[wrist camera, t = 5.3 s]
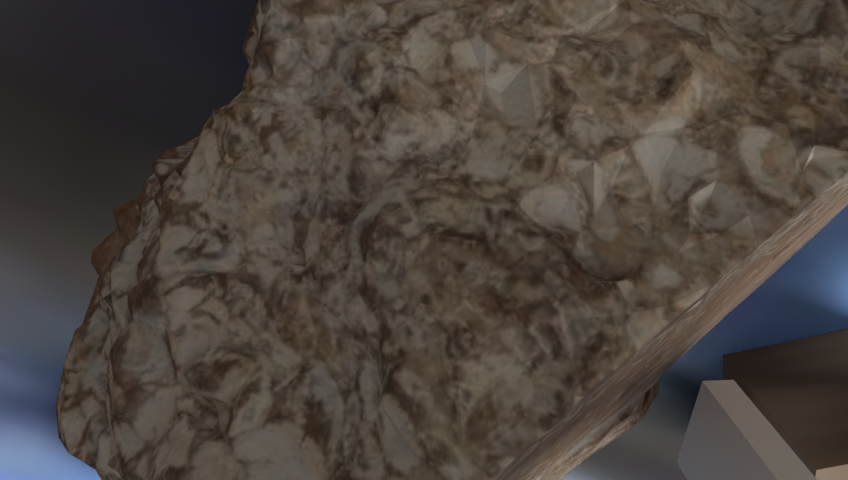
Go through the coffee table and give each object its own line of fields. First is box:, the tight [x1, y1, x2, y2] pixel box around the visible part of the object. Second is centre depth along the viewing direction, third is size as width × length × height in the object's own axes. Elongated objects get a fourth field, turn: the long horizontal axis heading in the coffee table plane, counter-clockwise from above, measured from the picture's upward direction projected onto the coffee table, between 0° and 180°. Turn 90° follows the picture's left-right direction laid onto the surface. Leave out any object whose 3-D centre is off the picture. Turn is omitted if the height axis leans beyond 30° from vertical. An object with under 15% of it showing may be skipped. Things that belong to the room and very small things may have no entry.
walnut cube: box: [723, 329, 848, 480], centre depth 18 cm, size 5×5×5 cm
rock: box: [56, 0, 848, 480], centre depth 11 cm, size 18×10×10 cm
